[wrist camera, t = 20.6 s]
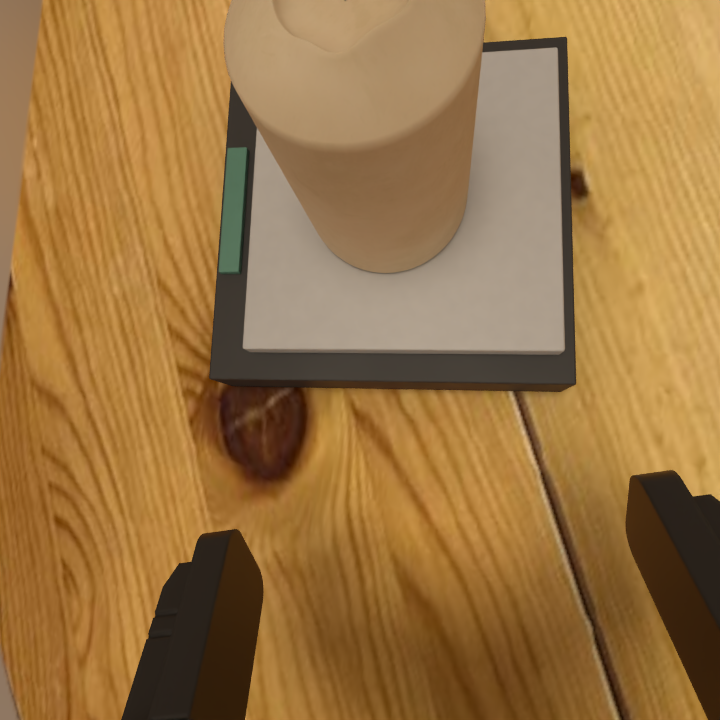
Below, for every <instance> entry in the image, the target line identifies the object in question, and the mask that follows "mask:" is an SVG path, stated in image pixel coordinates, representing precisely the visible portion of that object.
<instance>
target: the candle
mask: <svg viewBox="0 0 720 720" xmlns="http://www.w3.org/2000/svg"><path fill="white" fill-rule="evenodd" d="M485 19H486V16H485V0H232V1H231V4H230V7H229V10H228V13H227V18H226V23H225V28H224V54H225V61H226V65H227V70H228V74H229V76H230V79H231V81H232V84H233V86H234V88H235V90H236V92H237V94H238V95H239V97H240V99H241V101H242V102H243V104H244V106H245V108H246V109H247V111H248V113H249V115H250V116H251V118H252V120H253V122H254V123H255V125H256V127H257V129H258V130H259V132H260V134H261V135H262V137H263V139H264V141H265V142H266V144H267V146H268V148H269V149H270V151H271V153H272V155H273V156H274V158H275V160H276V162H277V163H278V165H279V167H280V169H281V170H282V172H283V174H284V176H285V177H286V179H287V181H288V183H289V184H290V186H291V188H292V190H293V191H294V193H295V195H296V196H297V198H298V200H299V202H300V203H301V205H302V207H303V209H304V210H305V212H306V214H307V216H308V217H309V219H310V221H311V223H312V224H313V226H314V228H315V229H316V231H317V233H318V234H319V236H320V238H321V239H322V241H323V242H324V243H325V244H326V246H327V247H328V248H329V249H330V250H331V251H332V252H333V253H334V254H335V255H337V256H338V257H339V258H341V259H342V260H343V261H345V262H346V263H348V264H350V265H352V266H354V267H357V268H359V269H362V270H366V271H370V272H377V273H394V272H401V271H405V270H409V269H412V268H415V267H417V266H419V265H421V264H423V263H425V262H427V261H428V260H430V259H432V258H433V257H434V256H436V255H437V254H438V253H439V252H440V251H441V250H442V249H443V248H444V247H445V246H446V245H447V244H448V243H449V242H450V240H451V239H452V238H453V236H454V234H455V233H456V231H457V229H458V227H459V226H460V223H461V221H462V218H463V216H464V212H465V208H466V202H467V196H468V187H469V178H470V168H471V158H472V148H473V138H474V129H475V119H476V109H477V99H478V89H479V80H480V70H481V60H482V50H483V40H484V30H485Z"/></svg>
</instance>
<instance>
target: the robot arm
mask: <svg viewBox="0 0 720 720" xmlns="http://www.w3.org/2000/svg"><path fill="white" fill-rule="evenodd" d="M626 534H627V539H628V543H629V546H630V550H631V552H632V555H633V557H634V559H635V562H636V564H637V566H638V568H639V570H640V572H641V575H642V577H643V579H644V581H645V583H646V585H647V588H648V590H649V592H650V594H651V596H652V599H653V601H654V603H655V605H656V607H657V609H658V612H659V614H660V616H661V618H662V620H663V622H664V625H665V627H666V629H667V631H668V633H669V636H670V638H671V640H672V642H673V644H674V646H675V649H676V651H677V653H678V655H679V657H680V659H681V662H682V664H683V666H684V668H685V670H686V673H687V675H688V677H689V679H690V681H691V683H692V686H693V688H694V690H695V692H696V694H697V696H698V699H699V701H700V703H701V705H702V707H703V710H704V712H705V714H706V716H707V718H708V720H720V501H718V500H717V499H716V498H715V497H713V496H712V495H711V494H710V495H702V496H695V497H692V495H691V493H690V492H689V490H688V489H687V487H686V485H685V484H684V482H683V481H682V479H681V478H680V476H679V475H678V474H677V473H676V472H675V471H673V470H669V471H662V472H654V473H647V474H640V475H633V476H631V478H630V483H629V493H628V503H627V514H626ZM262 603H263V580H262V575H261V572H260V569H259V567H258V565H257V563H256V561H255V559H254V557H253V555H252V554H251V552H250V550H249V548H248V546H247V544H246V542H245V540H244V538H243V536H242V534H241V533H240V531H239V530H237V529H234V530H227V531H219V532H212V533H205V534H202V535H201V536H200V537H199V539H198V541H197V544H196V547H195V551H194V554H193V558H192V562H187V563H179V565H178V566H177V567H176V569H175V570H174V572H173V573H172V575H171V576H170V578H169V579H168V580H167V582H166V583H165V585H164V586H163V589H162V592H161V595H160V598H159V601H158V604H157V608H156V611H155V618H153V620H152V624H151V627H150V630H149V633H148V634H149V638H148V639H147V640H146V643H145V646H144V649H143V652H142V656H141V659H140V662H139V665H138V668H137V672H136V675H135V678H134V681H133V684H132V687H131V691H130V694H129V697H128V700H127V703H126V707H125V710H124V713H123V716H122V719H121V720H245V716H246V709H247V702H248V696H249V689H250V682H251V676H252V669H253V663H254V656H255V649H256V643H257V636H258V629H259V623H260V616H261V609H262Z"/></svg>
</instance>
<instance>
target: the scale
mask: <svg viewBox="0 0 720 720" xmlns="http://www.w3.org/2000/svg"><path fill="white" fill-rule="evenodd" d="M209 378H210V379H212V380H215V381H218V382H221V383H225V384H228V385H231V386H259V387H317V388H375V389H433V390H491V391H549V392H561V391H563V390H565V389H567V388H569V387H571V386H573V385H575V384H576V359H575V322H574V284H573V246H572V208H571V170H570V132H569V94H568V56H567V37H558V38H543V39H529V40H515V41H501V42H487V43H483V50H482V60H481V70H480V80H479V89H478V99H477V109H476V119H475V129H474V138H473V148H472V158H471V168H470V178H469V187H468V196H467V202H466V208H465V212H464V216H463V218H462V221H461V223H460V226H459V227H458V229H457V231H456V233H455V234H454V236H453V238H452V239H451V240H450V242H449V243H448V244H447V245H446V246H445V247H444V248H443V249H442V250H441V251H440V252H439V253H438V254H437V255H436V256H434V257H433V258H432V259H430V260H428V261H427V262H425V263H423V264H421V265H419V266H417V267H415V268H412V269H409V270H405V271H401V272H394V273H377V272H370V271H366V270H362V269H359V268H357V267H354V266H352V265H350V264H348V263H346V262H345V261H343V260H342V259H341V258H339V257H338V256H337V255H335V254H334V253H333V252H332V251H331V250H330V249H329V248H328V247H327V246H326V244H325V243H324V242H323V241H322V239H321V238H320V236H319V234H318V233H317V231H316V229H315V228H314V226H313V224H312V223H311V221H310V219H309V217H308V216H307V214H306V212H305V210H304V209H303V207H302V205H301V203H300V202H299V200H298V198H297V196H296V195H295V193H294V191H293V190H292V188H291V186H290V184H289V183H288V181H287V179H286V177H285V176H284V174H283V172H282V170H281V169H280V167H279V165H278V163H277V162H276V160H275V158H274V156H273V155H272V153H271V151H270V149H269V148H268V146H267V144H266V142H265V141H264V139H263V137H262V135H261V134H260V132H259V130H258V129H257V127H256V125H255V123H254V122H253V120H252V118H251V116H250V115H249V113H248V111H247V109H246V108H245V106H244V104H243V102H242V101H241V99H240V97H239V95H238V94H237V92H236V90H235V88H234V86H233V84H232V81H231V89H230V103H229V116H228V130H227V144H226V157H225V171H224V185H223V198H222V212H221V226H220V239H219V253H218V267H217V280H216V294H215V308H214V321H213V335H212V349H211V362H210V376H209Z"/></svg>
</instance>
